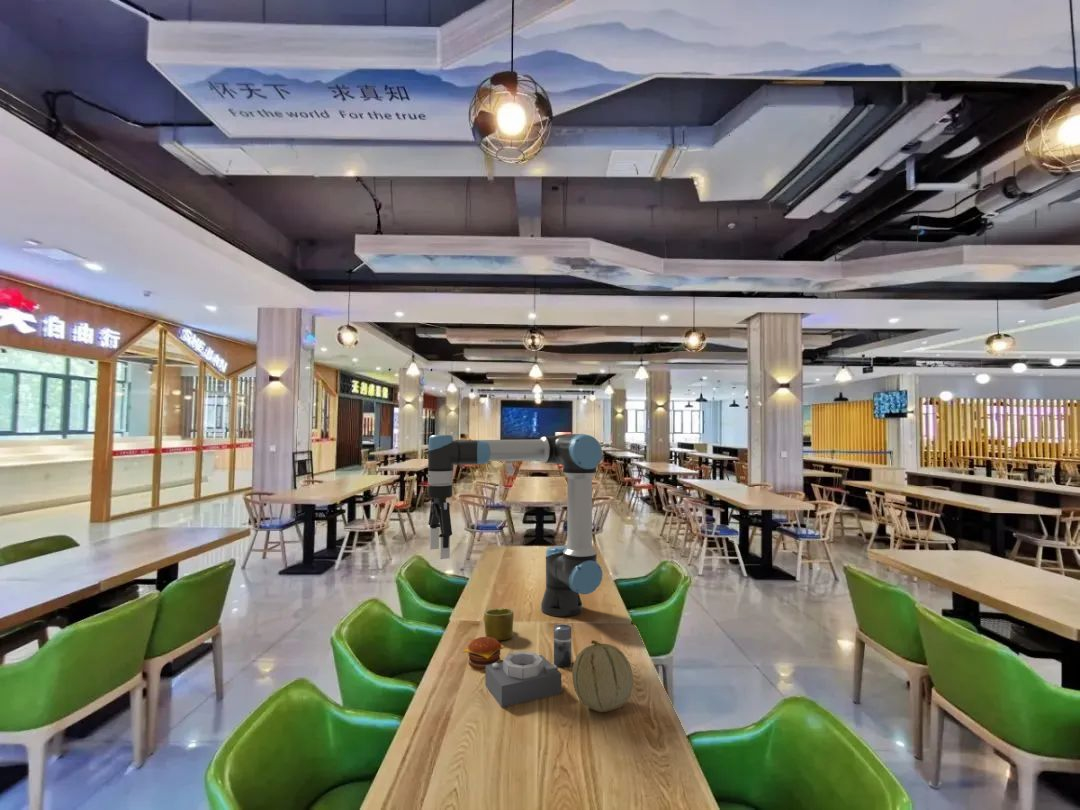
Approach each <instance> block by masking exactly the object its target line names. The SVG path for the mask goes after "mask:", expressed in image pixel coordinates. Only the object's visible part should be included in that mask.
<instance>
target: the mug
mask: <svg viewBox="0 0 1080 810" xmlns="http://www.w3.org/2000/svg"><path fill="white" fill-rule="evenodd" d="M483 621H484V633H485V637H491V638H495V639H496V640H497V641H498V642H501V641H505V640H511V639H512V638H513V635H514V627H513V626H514V625H513V624H514V611H513V610H512V609H510V608H504V607H498V608H495V609H489V610H486V611H485V612H484V615H483Z"/></svg>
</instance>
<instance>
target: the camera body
mask: <svg viewBox="0 0 1080 810" xmlns="http://www.w3.org/2000/svg"><path fill="white" fill-rule="evenodd" d="M485 687H486V688H487V689H488V691H489V692H490V693H491V695H492V696H493V698H494V699H495V701H496V702H497V703H498V704H499V706H500V707H501V708H506V707H511V706H514V705H519V704H521V703H522V704H523V703H526V702H531V701H535V700H539V699H544V698H548V697H553V696H558V695H562V673H561V671H559V667H557V666H556V665H555V664H554V663H551V662H550V661H549V660H547V658H546V657H544V656H543V655H542V654H538V653H536V652H531V651H525V650H523V651H521V650H520V651H515V652H511V653H508V654H507V655H505V657H504V658H503V659H502V662H500V663H493V664H491V665H486V669H485Z"/></svg>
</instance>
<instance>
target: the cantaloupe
mask: <svg viewBox="0 0 1080 810" xmlns="http://www.w3.org/2000/svg"><path fill="white" fill-rule="evenodd" d="M590 643H591V644H592V645H589V646H586V647H585V648H583V649H582V650H581V651H580V652H579V653H578V655H576V657H575V660H574V663H573V665H572V671H571V676H572V678H571V679H572V686H573V688H574V691H575V694H576V696H577V698H578V699H579V700H580V702H581V703H582V704H583V705H585V707H588V709H591V710H592V711H596V712H599V713H605V712H611V711H613V710H617V709H619V708H621V707H622V706H624V705H625V704H626V703H627V702H628V701H629V699H630V697H631V695H632V691H633V688H634V675H633V671H632V670H633V669H632V666H631V663H630V662H629V659H627V657H626V656H625V654H624V652H623V651H621V650H620V649H619V648H618V647H616V646H615V645H611V644H607V643H599V641H597V640H593V639H592V640H591V642H590Z"/></svg>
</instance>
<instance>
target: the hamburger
mask: <svg viewBox="0 0 1080 810" xmlns="http://www.w3.org/2000/svg"><path fill="white" fill-rule="evenodd" d="M503 649H506V646H505V645H503V644H501V641H497V640H496V639H495V638H491V637H486V636H480V637H477V638H474V639H473V640H471V641H470V643H469V644H468V646H467V648H466V649H464V650H463V651H462V653H468V665H469V666H470V667H471V668H473V669H478V670H486V665H491V664H493V663H501V657H500V655H501V650H503Z"/></svg>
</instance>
